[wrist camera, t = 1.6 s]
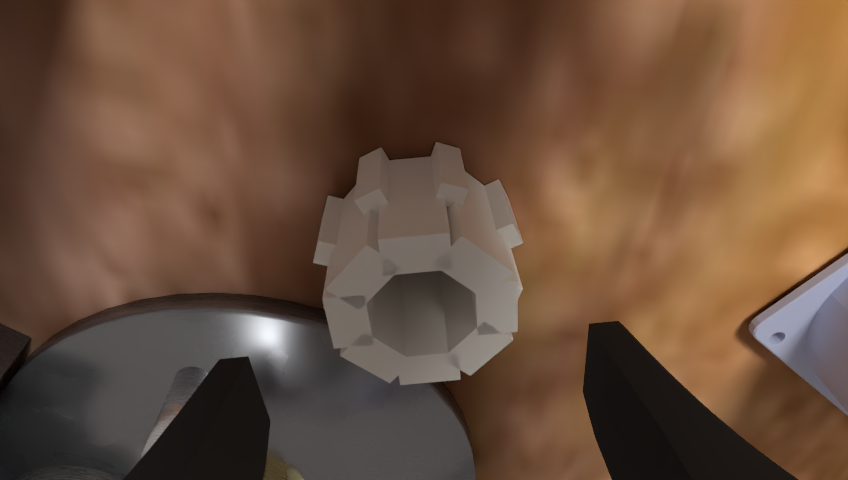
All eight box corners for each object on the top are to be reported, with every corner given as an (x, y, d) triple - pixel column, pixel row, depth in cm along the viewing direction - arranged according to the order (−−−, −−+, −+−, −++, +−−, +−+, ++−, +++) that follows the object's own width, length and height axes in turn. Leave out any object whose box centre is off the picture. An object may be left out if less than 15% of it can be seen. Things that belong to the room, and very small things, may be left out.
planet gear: (546, 216, 17) (582, 301, 14) (428, 325, 20) (434, 421, 16) (404, 104, 15) (406, 173, 12) (289, 240, 18) (264, 330, 14)
